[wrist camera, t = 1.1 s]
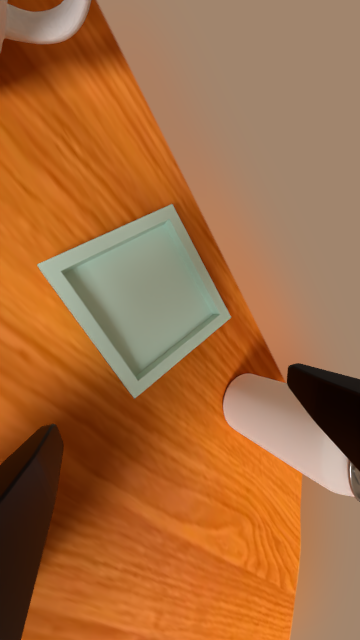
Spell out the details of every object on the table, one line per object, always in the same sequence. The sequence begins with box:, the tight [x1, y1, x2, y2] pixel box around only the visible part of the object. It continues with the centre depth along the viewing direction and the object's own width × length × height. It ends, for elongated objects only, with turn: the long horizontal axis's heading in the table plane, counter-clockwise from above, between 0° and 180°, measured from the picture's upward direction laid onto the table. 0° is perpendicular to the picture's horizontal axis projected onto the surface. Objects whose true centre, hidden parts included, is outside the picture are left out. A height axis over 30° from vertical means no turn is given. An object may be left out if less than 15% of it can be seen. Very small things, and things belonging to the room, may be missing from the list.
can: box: [223, 373, 360, 502], centre depth 20 cm, size 6×6×12 cm
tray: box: [37, 204, 231, 399], centre depth 19 cm, size 12×12×2 cm
